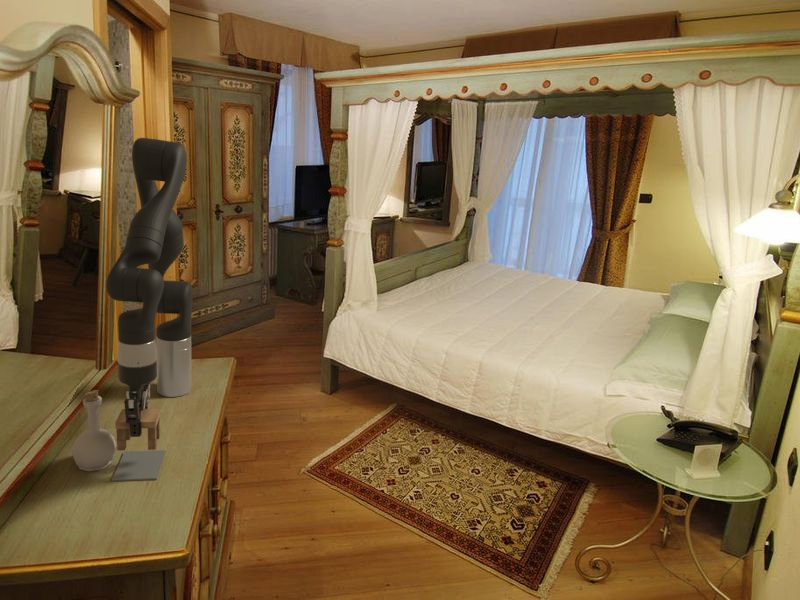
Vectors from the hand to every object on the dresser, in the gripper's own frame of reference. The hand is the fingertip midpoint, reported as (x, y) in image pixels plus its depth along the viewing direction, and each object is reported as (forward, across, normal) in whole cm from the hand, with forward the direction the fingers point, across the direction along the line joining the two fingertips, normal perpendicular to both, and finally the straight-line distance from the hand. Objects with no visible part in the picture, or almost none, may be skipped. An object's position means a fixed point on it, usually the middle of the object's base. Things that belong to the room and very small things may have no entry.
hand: (139, 427), depth 120 cm
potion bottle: (+10, +2, +10) cm, 14 cm away
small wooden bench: (+4, 0, 0) cm, 4 cm away
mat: (+10, 0, 0) cm, 10 cm away
